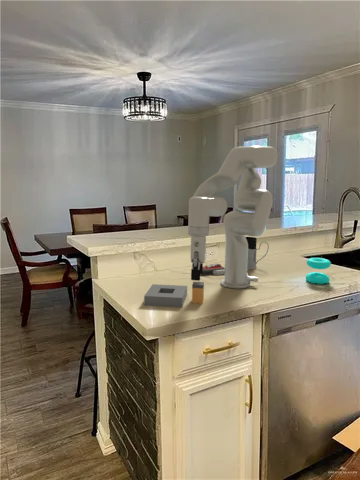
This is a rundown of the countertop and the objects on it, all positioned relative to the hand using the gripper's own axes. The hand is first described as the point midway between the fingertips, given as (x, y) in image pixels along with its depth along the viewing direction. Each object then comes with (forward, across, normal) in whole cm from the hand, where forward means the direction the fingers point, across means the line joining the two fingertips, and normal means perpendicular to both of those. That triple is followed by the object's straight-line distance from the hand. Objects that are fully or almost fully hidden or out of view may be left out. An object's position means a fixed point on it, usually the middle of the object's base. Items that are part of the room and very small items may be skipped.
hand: (196, 276), depth 136 cm
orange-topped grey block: (+10, +1, -1) cm, 10 cm away
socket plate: (+10, +1, +11) cm, 15 cm away
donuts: (+8, +34, -51) cm, 61 cm away
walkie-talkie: (+9, +42, -6) cm, 43 cm away
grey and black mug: (+8, +54, -24) cm, 59 cm away
